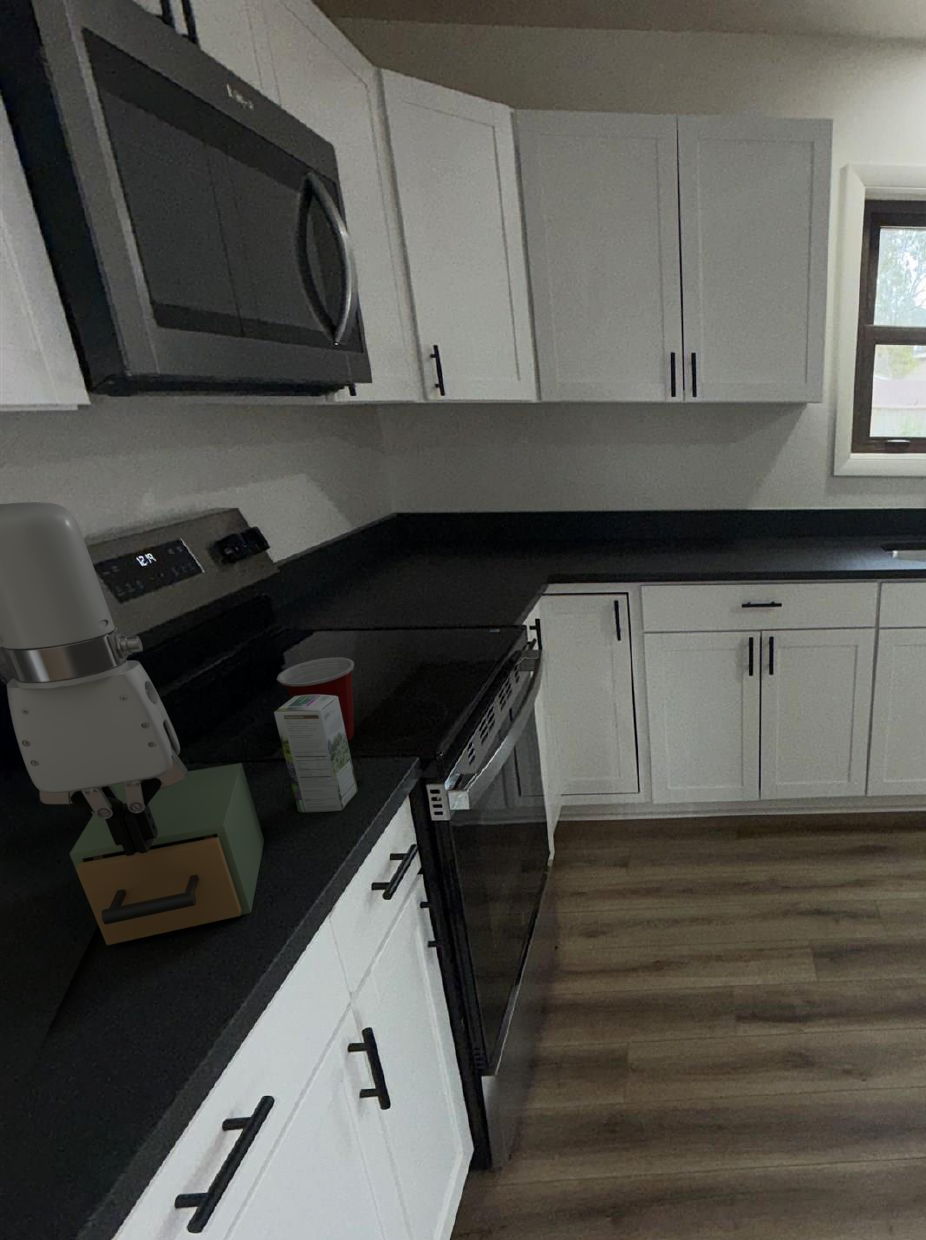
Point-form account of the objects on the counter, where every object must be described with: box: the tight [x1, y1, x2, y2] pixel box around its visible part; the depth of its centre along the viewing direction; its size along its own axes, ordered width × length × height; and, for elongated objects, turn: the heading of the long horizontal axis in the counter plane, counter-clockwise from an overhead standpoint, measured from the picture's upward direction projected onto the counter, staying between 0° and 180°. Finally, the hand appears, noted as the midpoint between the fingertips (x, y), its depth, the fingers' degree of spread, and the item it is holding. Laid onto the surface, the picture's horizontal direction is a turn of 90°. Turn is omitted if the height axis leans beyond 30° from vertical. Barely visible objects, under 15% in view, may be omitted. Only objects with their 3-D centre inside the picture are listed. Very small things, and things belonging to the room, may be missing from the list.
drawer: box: [75, 834, 242, 946], centre depth 83 cm, size 20×11×9 cm, turn 25°
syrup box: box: [273, 695, 359, 814], centre depth 104 cm, size 6×6×14 cm
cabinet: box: [69, 762, 265, 916], centre depth 87 cm, size 17×13×11 cm
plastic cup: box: [276, 656, 355, 741], centre depth 125 cm, size 11×11×12 cm
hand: (140, 847), depth 74 cm, fingers closed
